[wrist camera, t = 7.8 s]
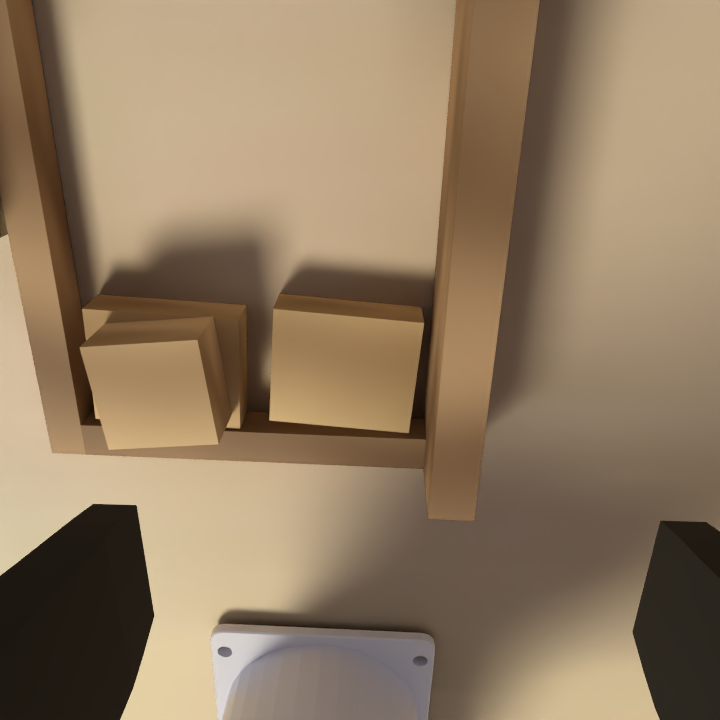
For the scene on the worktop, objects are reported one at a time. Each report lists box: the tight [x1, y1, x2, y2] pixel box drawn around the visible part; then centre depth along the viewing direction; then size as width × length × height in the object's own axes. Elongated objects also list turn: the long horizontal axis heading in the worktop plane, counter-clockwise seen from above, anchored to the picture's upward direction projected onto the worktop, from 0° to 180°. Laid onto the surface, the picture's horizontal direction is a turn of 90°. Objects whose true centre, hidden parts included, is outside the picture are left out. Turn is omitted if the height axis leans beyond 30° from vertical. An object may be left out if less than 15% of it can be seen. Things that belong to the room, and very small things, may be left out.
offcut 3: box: [269, 294, 424, 433], centre depth 19 cm, size 3×4×2 cm
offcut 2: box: [79, 316, 232, 450], centre depth 18 cm, size 3×3×2 cm
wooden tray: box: [0, 0, 540, 521], centre depth 15 cm, size 17×12×4 cm
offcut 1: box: [82, 295, 248, 429], centre depth 19 cm, size 3×4×2 cm
